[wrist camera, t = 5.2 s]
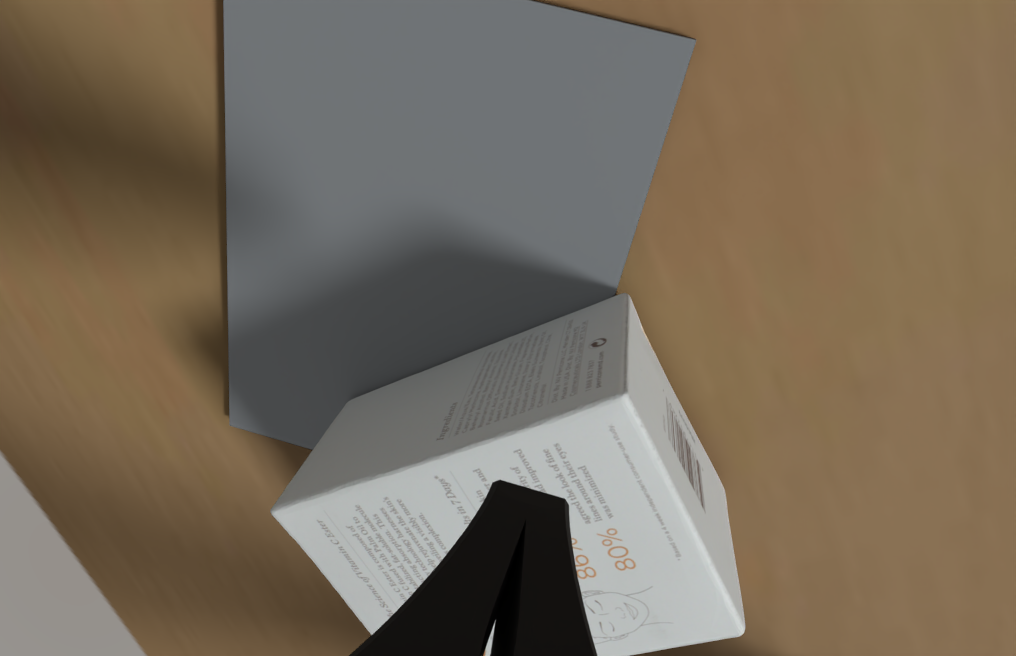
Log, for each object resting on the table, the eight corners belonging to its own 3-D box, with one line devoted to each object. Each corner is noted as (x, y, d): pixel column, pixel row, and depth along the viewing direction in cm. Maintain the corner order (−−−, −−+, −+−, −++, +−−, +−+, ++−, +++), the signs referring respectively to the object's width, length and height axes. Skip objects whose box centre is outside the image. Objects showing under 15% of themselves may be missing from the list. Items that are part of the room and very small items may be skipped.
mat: (695, 39, 16) (696, 40, 15) (545, 509, 24) (543, 517, 23) (231, -72, 17) (222, -74, 16) (235, 419, 24) (229, 425, 24)
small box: (632, 285, 19) (342, 393, 22) (628, 392, 14) (258, 508, 18) (727, 492, 21) (455, 558, 25) (752, 643, 16) (409, 697, 20)
